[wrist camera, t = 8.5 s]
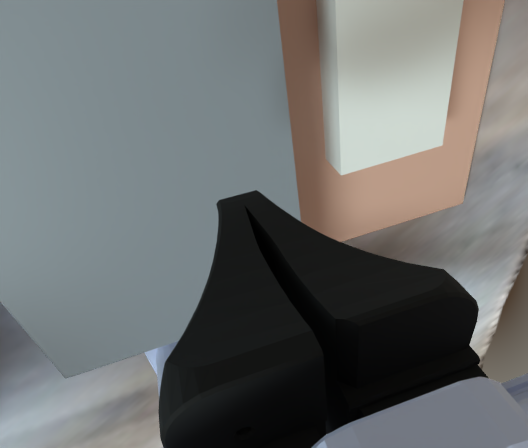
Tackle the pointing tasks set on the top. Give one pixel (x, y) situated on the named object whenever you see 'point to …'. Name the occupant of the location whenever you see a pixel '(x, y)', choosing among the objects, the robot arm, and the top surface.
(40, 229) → the grey flat block
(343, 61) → the cream rectangular block
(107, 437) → the top surface
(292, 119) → the mat
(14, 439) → the top surface
